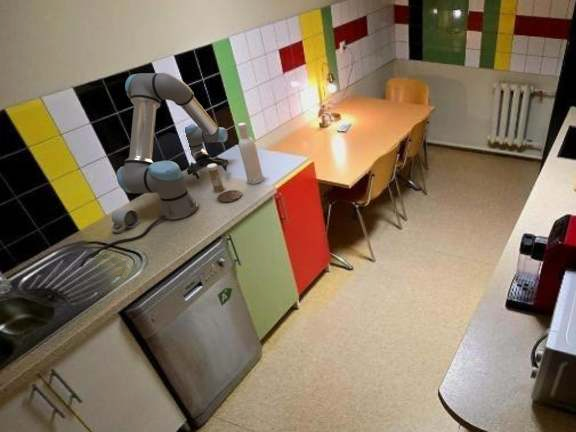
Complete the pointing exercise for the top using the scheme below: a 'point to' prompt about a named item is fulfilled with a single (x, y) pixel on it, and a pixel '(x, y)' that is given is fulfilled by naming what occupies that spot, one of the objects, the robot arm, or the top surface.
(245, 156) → the bottle
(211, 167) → the sprinkles bottle
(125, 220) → the ceramic mug
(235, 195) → the disc
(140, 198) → the top surface
